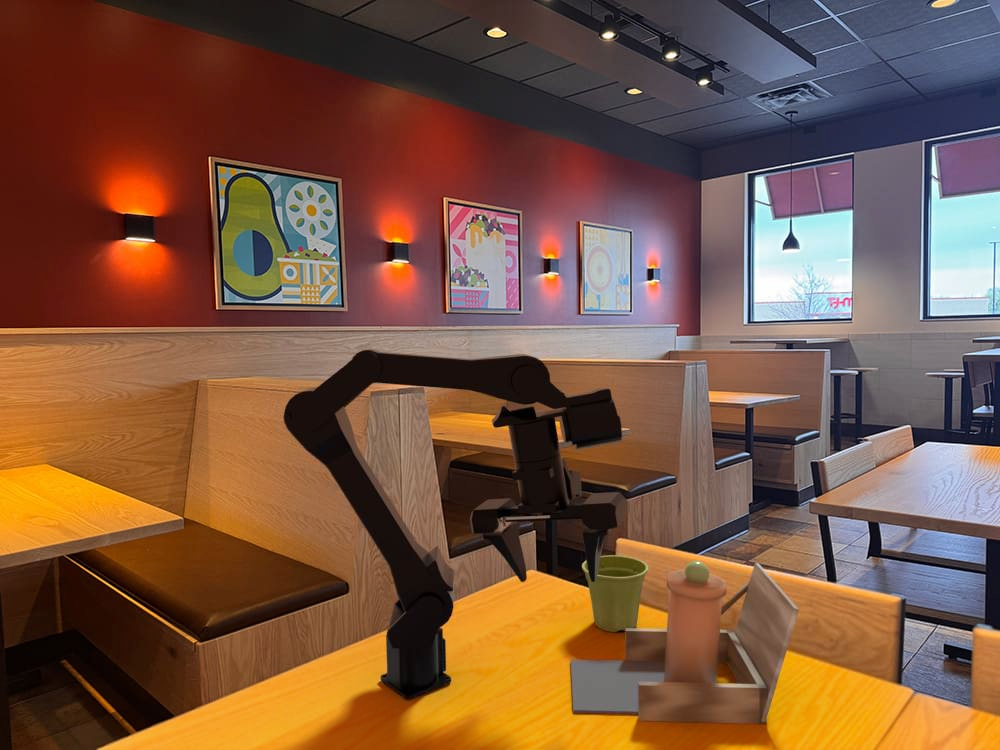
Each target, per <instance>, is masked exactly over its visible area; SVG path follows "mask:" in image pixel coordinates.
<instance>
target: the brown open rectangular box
mask: <svg viewBox="0 0 1000 750" xmlns="http://www.w3.org/2000/svg"><path fill="white" fill-rule="evenodd" d="M753 565H754V566H753V569H752V572H751V575H750V579H749V581H748V582H747V583H745V584H744V585H743V586H742V587H741V588H740V589H739V590H738V591H737V592H736V593H735V594H733V596H732V597H731V598H730V599H728V601H726V602H725V603H724V604H723V605H722V608H721V616H723V615H724V614H725V613H726V612H727V611H728V610H729V609H730V608H731V607H732V606H733V605H734V604H735V603H736V602H737V601H738V600H739V599H741V598H742V596H745V597H744V600H743V603H742V606H741V610H740V613H739V618H738V621H737V625H736V628H735V631H734V630H733V629H720V637H719V652H718V664H727V665H728V667H729V669H730V671H731V672H732V675H733V677H734V679H735V680H736V682H737V683H717V682H716V683H679V682H638V714H637V716H638V721H639V722H670V723H671V722H673V723H674V722H675V723H676V722H677V723H679V722H680V723H706V724H707V723H709V724H710V723H711V724H712V723H713V724H714V723H715V724H743V725H745V724H746V725H747V724H748V725H749V724H751V725H752V724H753V725H755V724H757V725H767V723H768V722H767V721H768V715H769V712H770V708H771V704H772V702H773V699H774V695H775V692H776V688H777V686H778V685H777V684H778V683H779V677H780V675H781V672H782V669H783V665H784V663H785V658H786V655H787V651H788V647H789V644H790V641H791V639H792V638H791V637H792V634H793V630H794V627H795V625H796V621H797V618H798V615H799V608H798V606H797V605H796V604H795V603H794V602H793V601H792V600H791V598H789V596H788V595H787V594H786V593H785V592H784V590H782V588H781V587H780V586H779V585H778V584H777V582H775V580H774V579H773V578H772V576H771V575H769V573H768V572H767V571H766V570H765V569H764V567H762V565H761V564H760V563H758V562H754V564H753ZM624 632H625V633H624V634H625V635H624V636H625V637H624V638H625V643H624V644H625V646H624V648H625V649H624V650H625V653H624V654H625V661H663V662H665V652H666V636H667V628H637V627H635V628H625V631H624Z"/></svg>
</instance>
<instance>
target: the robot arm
mask: <svg viewBox="0 0 1000 750" xmlns="http://www.w3.org/2000/svg"><path fill="white" fill-rule="evenodd" d="M373 384H387V385H389V384H390V385H401V386H411V387H425V388H426V387H428V388H440V389H448V390H449V389H452V390H462V391H464V390H465V391H471V392H474V393H475V392H476V393H479V394H482V395H486V396H489V397H492V398H496V399H499V400H503V401H507V402H512V403H515V404H518V405H519V404H520V405H529V406H525V407H524V406H523V407H520V408H514V409H510V408H508V407H507V406H506V405H505V404H501V405H500V406H499V410H498V412H497V413H496V415H495V416H494V417H493V418H492V420H491V423H492V426H493V427H494V428H495V429H498V428H504V427H507V428H508V434H509V438H510V444H511V451H512V455H513V456H512V457H513V462H514V467H515V469H514V471H512V472H511V475H512V476H511V478H512V481H515V482H516V481H517V484H518V490H519V491H518V492H519V496H520V497H519V498H520V501H521V503H519V504H518V505H516V502H515V501H514V500H513V498H511V497H510V498H493V499H491V498H490V499H487V500H485V501H483V502H482V503H481V504H479V505H478V506H477V507H475V508H474V509H473V510H471V511H472V512H471V513H470V515H469V516H470V518H469V522H470V523H469V524H470V529H471V533H472V534H475V535H476V534H479V535H480V534H482V535H481V537H482V538H481V539H483V540H485V541H486V540H487V541H489V543H491V544H492V546H493V547H494V548H495V549H496V550H497V551H498V552H499V554H500V555H501V556H502V557H503V558H504V560H505V561H506V562H507V564H508V566H509V567H510V568H511V570H512V571H513V572H514V574H515V575H516V578H517V579H519V582H520V583H525V582H526V581H527V577H528V576H527V575H528V574H527V566H526V562H525V561H526V560H525V558H524V553H523V548H522V544H521V538H520V524H521V523H522V522H541V521H542V522H543V521H563V520H564V521H565V520H568V521H569V520H581V522H582V524H583V525H584V526H586V528H585V529H584V530H583V531H582V533H581V534H582V540H583V548H584V554H585V561H586V560H587V567H588V572H589V575H590V579H591V581H592V582H595V581H596V579H597V575H598V569H599V563H600V557H601V556H602V550H603V546H604V541H605V538H606V536H608V535H609V534H610V532H611V531H612V530H613V529H616V528H618V527H619V526H620V525H621V523H622V522H623V521H624V519H625V518H626V517H627V515H628V514H629V510H628V504H627V500H626V498H625V496H624V495H623V493H621V492H619V491H614V492H612V491H609V492H595V493H592V494H590V496H588V498H587V499H586V500H585V501H584V502H570V501H571V500H574V499H576V498H580V497H582V492H583V491H582V476H581V475H582V474H581V472H580V471H577V470H574V469H569V468H568V464H567V461H566V458H565V457H562V453H561V449H560V448H561V447H560V443H559V435H558V430H557V425H556V419H555V418H558V420H559V428H560V429H559V430H560V433H561V438H562V440H563V443H564V444H569V443H571V446H572V447H573V449H574V450H575V451H577V450H584V449H588V448H594V447H600V446H605V445H610V444H611V445H612V444H616V443H621V442H622V440H623V431H622V430H623V429H622V423H621V422H622V421H621V417H620V415H619V414H618V412H617V411H618V410H617V407H616V405H615V402H614V400H613V399H614V398H613V397H612V392H611V389H610V388H608V387H605V386H604V387H601V388H596V389H593V390H592V391H588V392H587V391H586V392H581V393H575V394H570V395H565V394H566V393H565V391H564V390H562V389H560V388H557V387H556V385H554V383H552V382H551V374H550V372H549V369H548V367H547V366H546V364H545V363H544V362H543V361H542V360H541V359H539V358H538V357H535V356H533V355H529V354H526V353H525V354H524V353H519V354H508V355H497V356H488V357H480V358H463V357H450V356H449V357H448V356H436V355H424V354H415V353H414V354H413V353H412V354H411V353H400V352H388V351H387V352H386V351H380V350H378V349H374V348H371V349H362V350H360V351H358V352H356V353H355V354H354V355H353V357H352V358H351V360H350V361H348V362H347V363H346V364H345V365H343V366H342V367H341V368H340V369H338V370H337V371H336V372H334V373H333V374H332V375H331V376H330V377H328V378H327V379H326V380H324V381H323V382H322V383H320V384H319V385H318V386H313V387H311V388H308V389H305V390H304V391H301V392H298V393H296V394H295V395H293V396H292V397H291V398H290V399H289V400H288V401H287V403H286V405H285V409H284V411H283V417H282V418H283V423H284V425H285V427H286V429H287V430H288V432H289V433H290V434H291V435H292V436H293V437H294V439H295V440H296V441H297V442H298V443H299V444H300V445H301V446H302V447H303V449H305V450H306V452H308V453H309V454H310V455H311V456H312V457H314V458H315V459H317V461H319V462H320V463H321V464H322V465H323V466H325V468H327V469H328V471H329V473H330V474H331V476H332V477H333V479H334V481H335V483H336V484H337V485H338V487H339V489H340V491H341V492H342V493H343V495H344V497H345V498H346V500H347V501H348V503H349V505H350V506H351V508H352V509H353V511H354V513H355V514H356V516H357V517H358V519H359V520H360V522H361V524H362V525H363V526H364V528H365V530H366V531H367V533H368V535H369V536H370V538H371V540H372V541H373V543H374V544H375V546H376V547H377V548H378V550H379V552H380V554H381V556H382V557H383V559H384V560H385V562H386V564H387V565H388V567H389V570H390V573H391V576H392V581H393V584H394V587H395V591H396V595H397V598H398V599H397V600H396V601H395V602H394V603H393V606H392V611H391V615H390V618H389V622H388V627H387V630H386V635H385V640H386V641H385V644H386V646H385V649H386V673H383V674H381V675H380V681H381V682H383V683H384V684H385V685H386V686H388V687H390V688H391V690H393V691H395V693H397V694H399V695H400V696H401V697H402V698H404V699H406V700H411V699H413V698H416V697H418V696H420V695H423V694H425V693H429V692H431V691H433V690H436V689H438V688H441V687H443V686H445V685H448V684H450V683H451V682H452V676H450V675H449V674H447V673H445V672H446V670H447V647H446V645H447V644H446V638H445V637H444V629H443V628H442V627H443V626H444V625H445V624H447V623H448V622H449V620H450V619H451V617H452V615H453V610H454V606H455V605H454V603H455V600H454V599H455V598H454V597H455V584H454V583H455V582H454V580H455V578H454V577H455V573H454V572H455V570H454V569H453V568H452V567H450V566H449V565H448V564H447V563H446V561H445V559H444V557H443V555H442V552H441V549H440V548H439V546H437V545H436V546H435V547H433V548H432V549H431V550H430V551H428V550H426V549H425V548H424V547H423V546H421V545H420V543H418V542H417V540H416V538H415V537H414V535H413V534H412V532H411V531H410V529H409V528H408V526H407V524H406V523H405V521H404V520H403V518H402V517H401V515H400V513H399V511H398V510H397V507H395V505H394V504H393V502H392V500H391V499H390V497H389V496H388V494H387V492H386V491H385V489H384V487H383V486H382V484H381V483H380V481H379V479H378V478H377V476H376V475H375V473H374V472H373V470H372V469H371V467H370V465H369V463H368V462H367V460H366V459H365V457H364V455H363V453H362V452H361V450H360V449H359V447H358V444H357V441H356V437H355V434H354V431H353V428H352V423H351V420H350V418H349V416H348V414H347V410H346V407H347V406H348V405H349V404H351V403H352V402H353V401H354V400H355V399H357V398H358V397H359V396H360V395H361V394H362V393H363V392H365V391H366V390H367V389H368V388H369V387H370V386H371V385H373ZM535 403H536V404H537V403H539V404H541V405H544V406H545V407H548V408H550V409H552V410H545V411H536V410H535V407H534V405H532V404H535Z"/></svg>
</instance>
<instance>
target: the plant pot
mask: <svg viewBox="0 0 1000 750" xmlns="http://www.w3.org/2000/svg"><path fill="white" fill-rule="evenodd" d="M581 569H582V571H583V572H584V574H585V579H586V581H587V583H588V589H589V595H590V596H589V597H590V600H591V601H590V603H591V609H592V615H593V621H594V623H595V625H596V627H597V628H599V629H600V630H604V631H606V632H610V633H611V632H612V633H616V632H619V631H624V632H625V628H637V625H638V620H639V619H638V618H639V612H640V611H639V610H640V603H641V598H642V596H641V595H642V589H643V583H644V581H645V577H646V575H647V574H648V572H649V565H648V564H647V563H646V562H645V561H643V560H641V559H638V558H634V557H631V556H624V555H611V554H610V555H601V557H600V563H599V569H598V575H597V579H596V581H595V582H592V581H591V579H590V575H589V572H588V567H587V560H586V559H585V561H584V562H582V564H581Z"/></svg>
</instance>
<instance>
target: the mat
mask: <svg viewBox="0 0 1000 750" xmlns="http://www.w3.org/2000/svg"><path fill="white" fill-rule="evenodd" d="M664 667H665V662H663V661H626V660H611V659H610V660H605V659H604V660H603V659H601V660H599V659H570V675H571V691H572V692H571V693H572V710H573V713H575V714H577V713H578V714H579V713H580V714H585V713H586V714H615V715H616V714H618V715H638V682H664Z"/></svg>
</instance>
